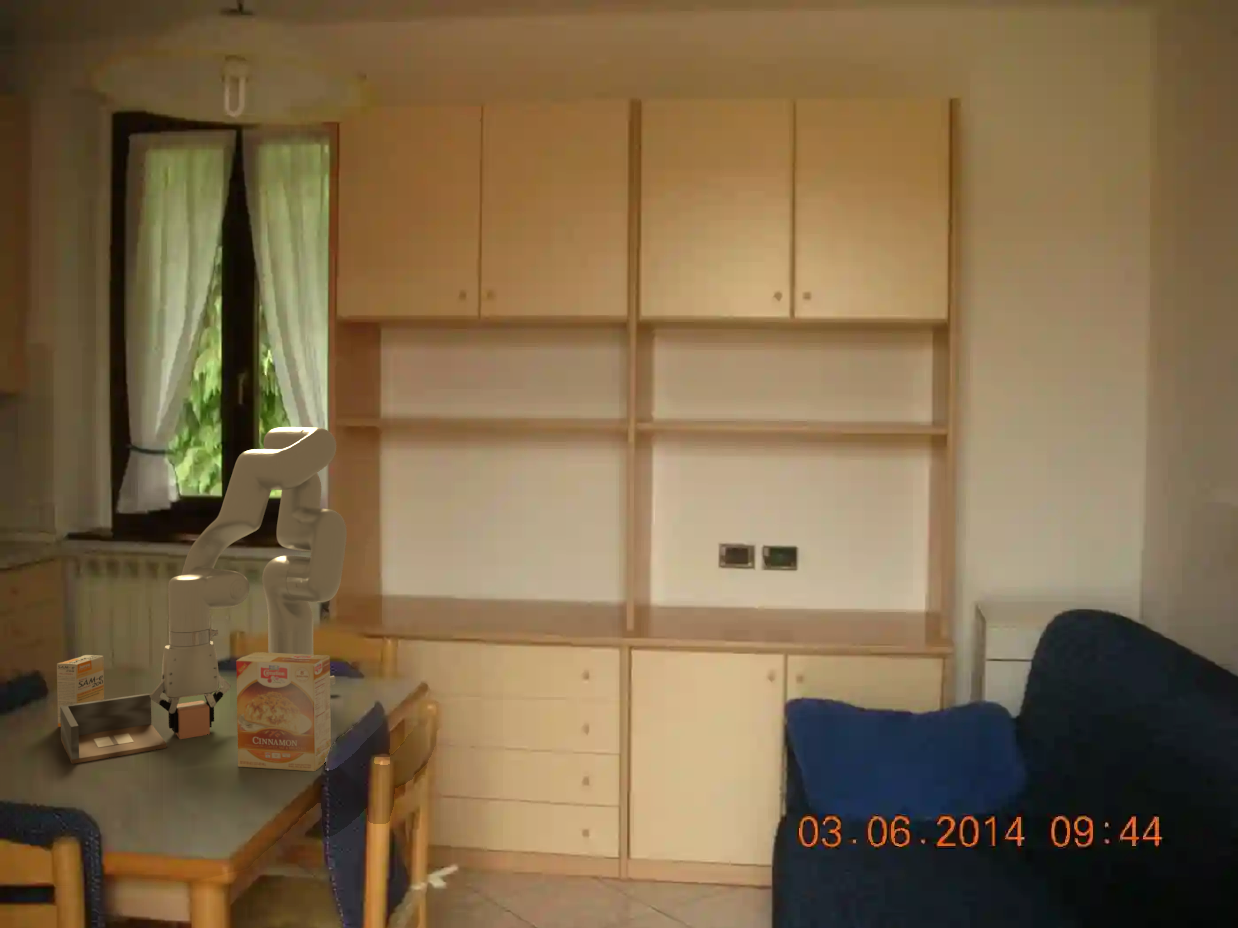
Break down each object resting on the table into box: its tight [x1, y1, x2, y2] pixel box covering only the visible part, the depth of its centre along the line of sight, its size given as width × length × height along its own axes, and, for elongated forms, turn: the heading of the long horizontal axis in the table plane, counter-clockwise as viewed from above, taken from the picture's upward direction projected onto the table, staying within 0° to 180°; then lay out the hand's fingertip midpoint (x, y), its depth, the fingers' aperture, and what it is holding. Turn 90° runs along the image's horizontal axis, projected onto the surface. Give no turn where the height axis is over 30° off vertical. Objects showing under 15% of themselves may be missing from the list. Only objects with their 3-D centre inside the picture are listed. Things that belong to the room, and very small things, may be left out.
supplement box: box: [56, 654, 105, 728], centre depth 213 cm, size 8×5×13 cm, turn 168°
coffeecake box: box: [235, 651, 332, 772], centre depth 188 cm, size 15×7×20 cm, turn 80°
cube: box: [174, 700, 211, 740], centre depth 206 cm, size 6×6×6 cm
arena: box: [60, 693, 168, 765], centre depth 199 cm, size 16×16×7 cm
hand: (191, 727), depth 206 cm, fingers closed on cube, 5 cm apart
